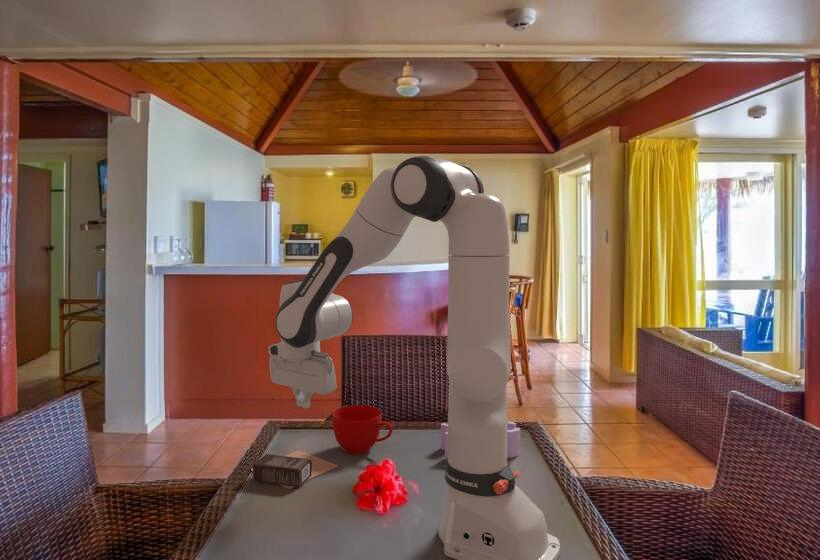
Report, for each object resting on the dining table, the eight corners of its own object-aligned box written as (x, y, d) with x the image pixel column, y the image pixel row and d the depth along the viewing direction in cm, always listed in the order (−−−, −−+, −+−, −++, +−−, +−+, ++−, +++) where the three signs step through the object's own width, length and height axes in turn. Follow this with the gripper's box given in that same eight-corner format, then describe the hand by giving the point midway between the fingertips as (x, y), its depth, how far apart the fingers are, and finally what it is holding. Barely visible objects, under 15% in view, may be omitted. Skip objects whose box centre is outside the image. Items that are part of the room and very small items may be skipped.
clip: (510, 442, 146) (511, 417, 146) (525, 461, 134) (525, 434, 133) (439, 445, 144) (439, 420, 144) (446, 464, 132) (447, 437, 131)
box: (311, 477, 124) (266, 469, 127) (312, 459, 124) (266, 451, 127) (299, 489, 118) (252, 481, 122) (299, 470, 118) (252, 462, 121)
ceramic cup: (379, 466, 130) (379, 426, 130) (322, 454, 138) (322, 416, 137) (403, 447, 142) (403, 411, 141) (349, 437, 149) (349, 402, 149)
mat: (338, 466, 130) (338, 465, 130) (289, 489, 118) (289, 488, 118) (298, 451, 139) (298, 450, 139) (249, 470, 128) (249, 469, 128)
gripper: (341, 351, 120) (344, 411, 121) (285, 342, 133) (287, 396, 134) (320, 356, 115) (323, 418, 116) (263, 346, 128) (266, 402, 129)
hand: (303, 406), depth 125 cm, fingers closed
